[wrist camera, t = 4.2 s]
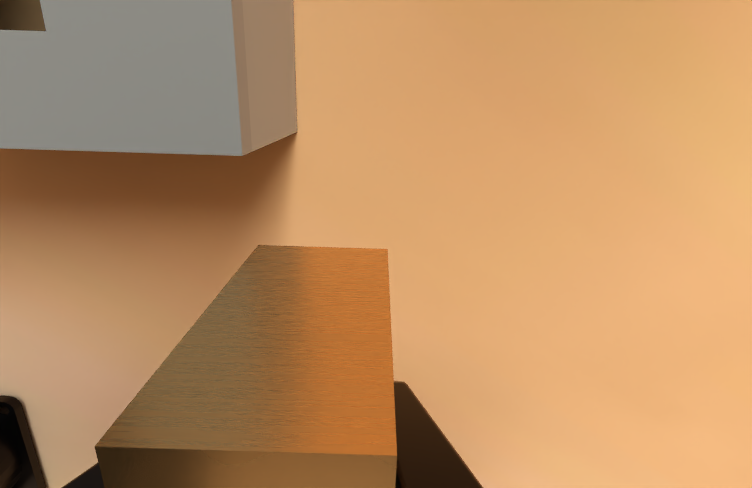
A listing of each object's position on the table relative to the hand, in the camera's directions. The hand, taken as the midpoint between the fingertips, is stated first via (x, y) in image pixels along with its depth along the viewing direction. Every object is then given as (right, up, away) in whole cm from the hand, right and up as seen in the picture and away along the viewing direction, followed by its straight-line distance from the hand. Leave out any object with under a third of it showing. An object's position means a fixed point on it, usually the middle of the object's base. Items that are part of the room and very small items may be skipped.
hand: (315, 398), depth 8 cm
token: (0, 0, +1) cm, 1 cm away
